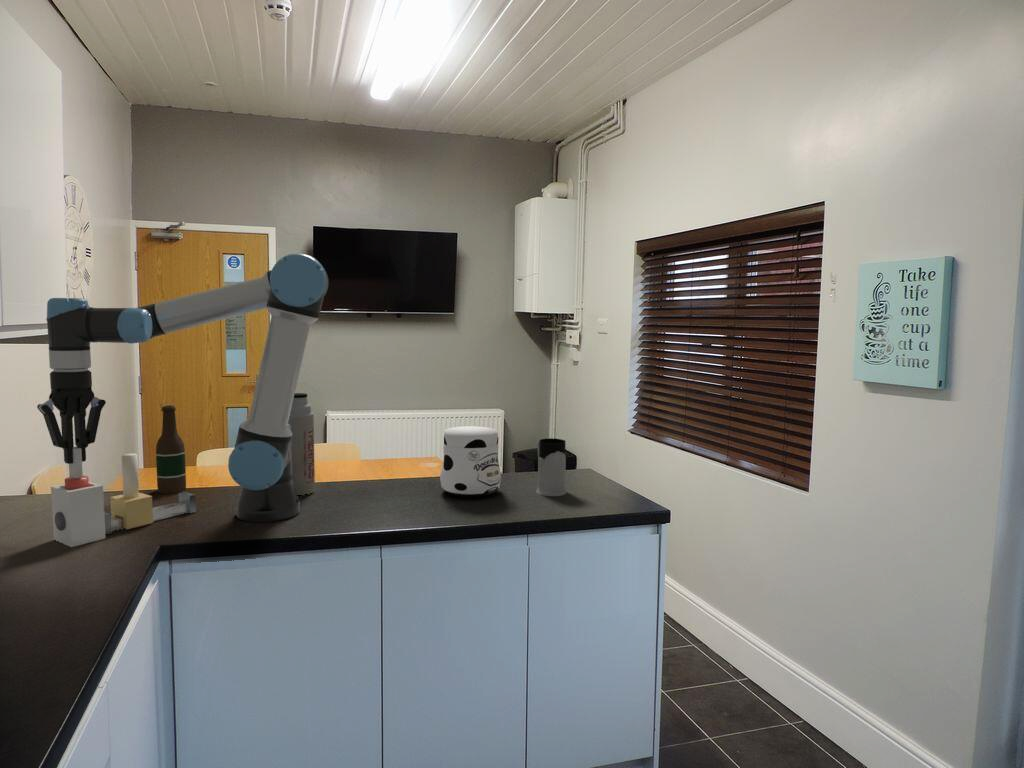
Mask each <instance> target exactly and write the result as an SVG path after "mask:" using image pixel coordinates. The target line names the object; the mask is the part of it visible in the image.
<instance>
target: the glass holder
mask: <svg viewBox="0 0 1024 768" xmlns="http://www.w3.org/2000/svg"><path fill="white" fill-rule="evenodd" d="M537 457H538V458H537V460H538V462H537V465H538V467H537V470H538V471H537V489H536V491H535V492H536V494H537V495H540V496H546V497H561V496H565V495H566V494H567V490H566V468H567V467H566V465H567V463H566V461H567V458H566V457H567V456H566V439H561V438H550V437H549V438H541V439H539V440H538V441H537Z"/></svg>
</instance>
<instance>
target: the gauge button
mask: <svg viewBox="0 0 1024 768" xmlns="http://www.w3.org/2000/svg"><path fill="white" fill-rule="evenodd" d="M89 479H90V478H89V476H87V475H83V478H77V479H74V478H71V477H66V478H64V484H65V489H67V490H74V489H80V488H85V487H89V482H90V480H89Z"/></svg>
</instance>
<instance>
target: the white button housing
mask: <svg viewBox="0 0 1024 768" xmlns="http://www.w3.org/2000/svg"><path fill="white" fill-rule="evenodd" d="M50 495H51V496H50V497H51V498H50V499H51V513H52V514H51V515H52V516H51V517H52V530H53V531H52V532H53V540H54V541H55V540H56V542H58V541H59V543H60V544H62V543H63V545H65V546H68V547H70V548H73V547H77V546H82V545H86V544H90V543H93V542H97V541H101V540H105V539H106V537H107V536H106V535H105V515H104V512H105V500H104V497H105V496H104V485H102V484H99V483H95V482H92V481H89V487H85V488H80V489H74V490H67V489H65V483H63V484H58V485H57V484H56V485H52V486H50Z"/></svg>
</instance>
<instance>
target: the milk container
mask: <svg viewBox="0 0 1024 768" xmlns="http://www.w3.org/2000/svg"><path fill="white" fill-rule="evenodd" d="M498 431H499V430H498V429H496V428H493V427H487V426H479V425H478V426H477V425H474V426H473V425H472V426H469V425H468V426H461V425H460V426H454V427H453V426H452V427H449V428H446V429H444V433H443V444H442V445H443V459H442V460H443V461H442V466H441V468H440V474H439V479H440V485H441V489H442V490H443V491H444V492H445V493H447V494H449V495H453V496H456V497H463V498H467V497H468V498H474V497H476V498H477V497H484V496H488V495H489V496H490V495H491V494H494V493H496V492H497V491H498V490H499V489H500V487H501V482H502V472H501V467H500V464H499V432H498Z"/></svg>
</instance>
